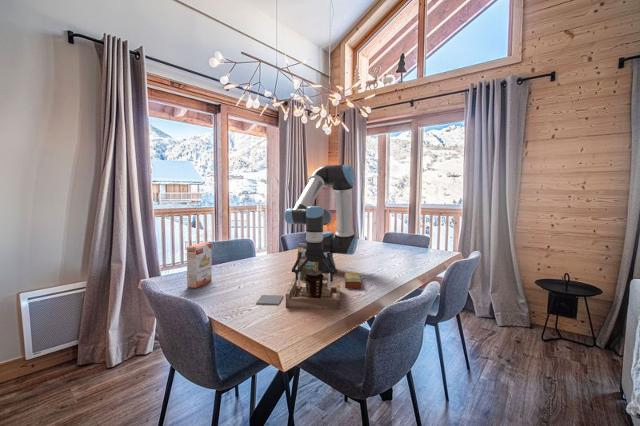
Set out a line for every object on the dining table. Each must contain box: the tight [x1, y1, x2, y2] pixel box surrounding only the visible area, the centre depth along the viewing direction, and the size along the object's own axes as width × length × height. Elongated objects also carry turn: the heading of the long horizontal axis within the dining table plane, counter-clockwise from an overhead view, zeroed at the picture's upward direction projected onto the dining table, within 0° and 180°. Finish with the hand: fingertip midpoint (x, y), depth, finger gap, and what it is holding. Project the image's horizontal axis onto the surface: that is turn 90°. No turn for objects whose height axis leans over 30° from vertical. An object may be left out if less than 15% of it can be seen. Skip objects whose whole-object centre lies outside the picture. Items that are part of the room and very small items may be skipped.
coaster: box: [255, 294, 284, 306], centre depth 137 cm, size 10×10×1 cm
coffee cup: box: [303, 271, 324, 298], centre depth 136 cm, size 9×8×13 cm
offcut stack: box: [300, 280, 332, 297], centre depth 146 cm, size 5×14×6 cm, turn 86°
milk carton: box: [296, 243, 318, 280], centre depth 174 cm, size 11×10×19 cm
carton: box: [344, 272, 362, 290], centre depth 161 cm, size 8×16×4 cm, turn 177°
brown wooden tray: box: [285, 277, 341, 310], centre depth 139 cm, size 22×23×6 cm
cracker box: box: [186, 242, 213, 289], centre depth 159 cm, size 14×6×21 cm, turn 168°
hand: (314, 288), depth 136 cm, fingers open, 13 cm apart
